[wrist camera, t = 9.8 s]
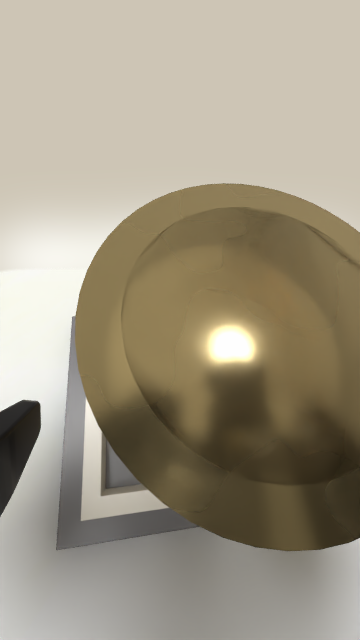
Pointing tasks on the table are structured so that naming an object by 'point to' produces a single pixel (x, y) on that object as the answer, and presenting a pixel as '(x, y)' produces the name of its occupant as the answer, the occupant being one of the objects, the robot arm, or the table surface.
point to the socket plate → (101, 482)
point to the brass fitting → (231, 361)
